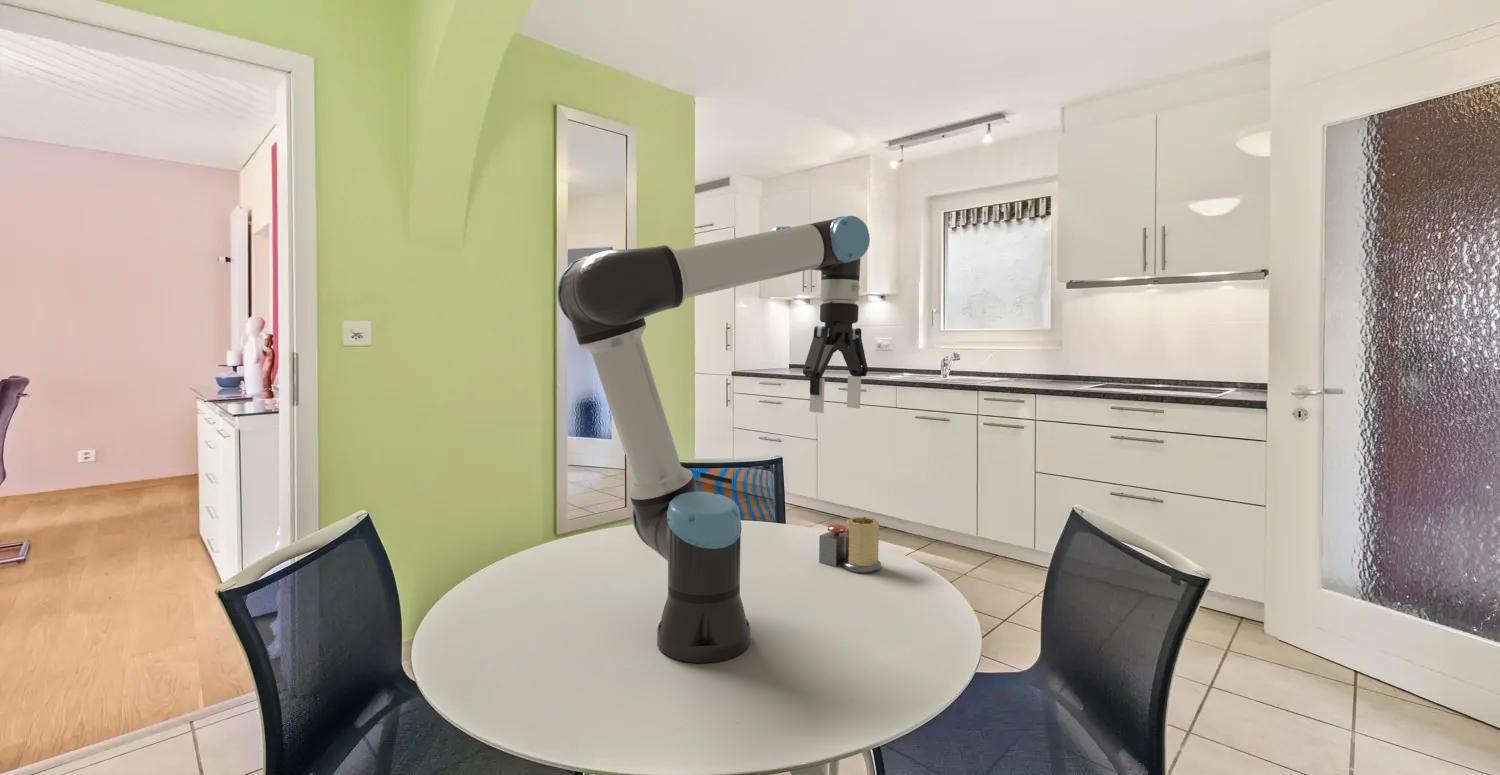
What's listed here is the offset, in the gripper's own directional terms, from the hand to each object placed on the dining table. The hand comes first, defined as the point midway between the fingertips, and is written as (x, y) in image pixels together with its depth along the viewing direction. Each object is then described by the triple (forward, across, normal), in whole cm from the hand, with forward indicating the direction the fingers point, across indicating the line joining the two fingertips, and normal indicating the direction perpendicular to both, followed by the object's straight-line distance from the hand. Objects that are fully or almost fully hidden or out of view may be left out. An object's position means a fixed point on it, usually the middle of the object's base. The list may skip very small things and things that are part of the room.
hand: (835, 410), depth 136 cm
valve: (+35, +12, +2) cm, 37 cm away
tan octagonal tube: (+34, +12, -1) cm, 36 cm away
